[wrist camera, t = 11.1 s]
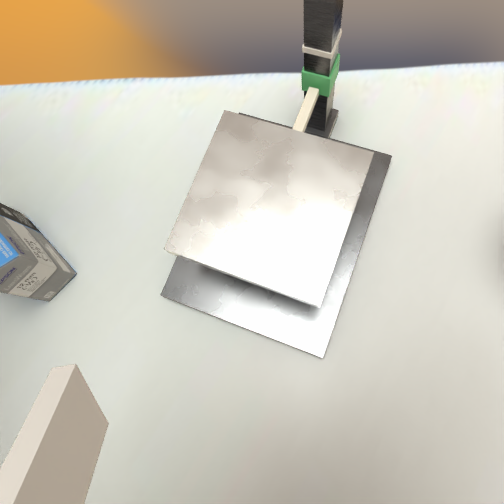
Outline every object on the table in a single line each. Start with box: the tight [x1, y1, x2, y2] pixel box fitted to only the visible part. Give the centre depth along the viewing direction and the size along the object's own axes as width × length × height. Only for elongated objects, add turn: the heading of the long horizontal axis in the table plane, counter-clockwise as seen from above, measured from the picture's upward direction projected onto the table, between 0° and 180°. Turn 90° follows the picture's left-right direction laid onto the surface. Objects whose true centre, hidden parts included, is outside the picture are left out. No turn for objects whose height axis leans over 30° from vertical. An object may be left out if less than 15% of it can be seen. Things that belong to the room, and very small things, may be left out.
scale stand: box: [161, 0, 392, 358], centre depth 32 cm, size 15×22×16 cm
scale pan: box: [164, 87, 374, 308], centre depth 36 cm, size 12×16×7 cm
